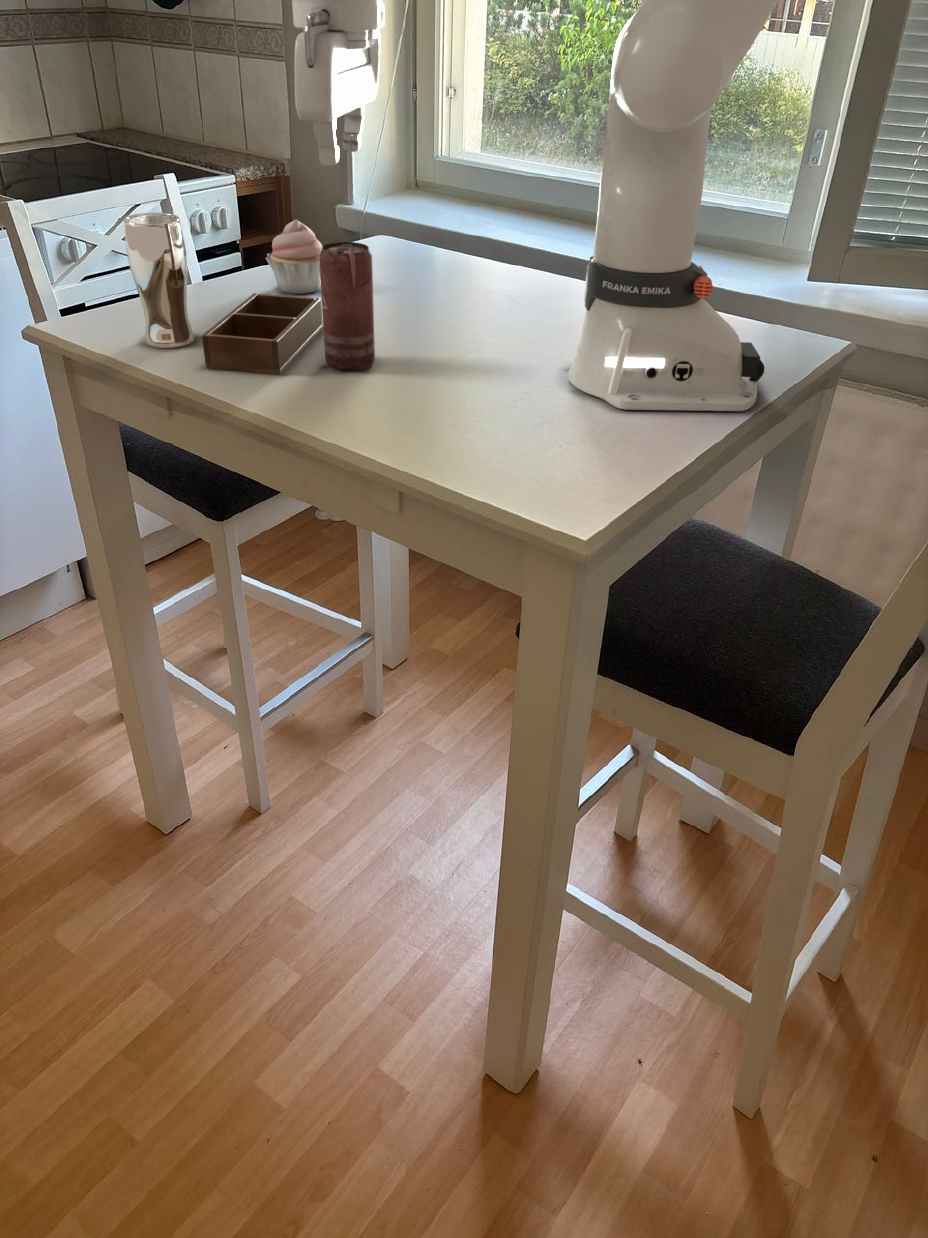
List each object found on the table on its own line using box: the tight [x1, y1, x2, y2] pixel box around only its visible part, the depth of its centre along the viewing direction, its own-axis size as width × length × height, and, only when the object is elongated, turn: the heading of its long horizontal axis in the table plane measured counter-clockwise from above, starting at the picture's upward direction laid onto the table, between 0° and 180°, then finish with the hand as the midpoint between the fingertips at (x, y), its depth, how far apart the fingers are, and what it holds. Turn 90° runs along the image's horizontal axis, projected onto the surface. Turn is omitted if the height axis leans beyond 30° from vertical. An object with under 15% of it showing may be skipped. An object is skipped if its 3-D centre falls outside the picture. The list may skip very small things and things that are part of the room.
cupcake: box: [265, 219, 323, 295], centre depth 142 cm, size 9×9×10 cm
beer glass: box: [122, 212, 195, 349], centre depth 119 cm, size 7×7×15 cm
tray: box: [201, 292, 324, 376], centre depth 121 cm, size 9×18×4 cm, turn 171°
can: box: [319, 241, 376, 373], centre depth 114 cm, size 6×6×14 cm
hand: (341, 157), depth 105 cm, fingers open, 8 cm apart
